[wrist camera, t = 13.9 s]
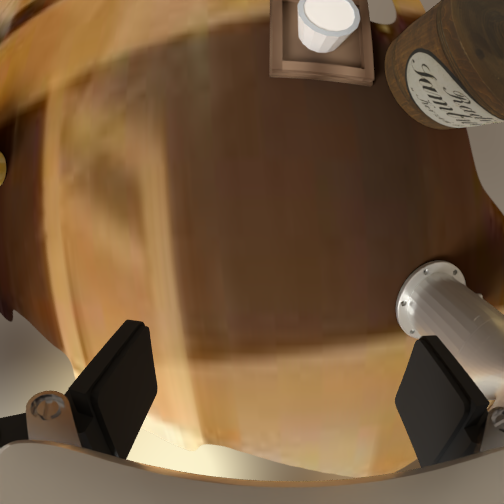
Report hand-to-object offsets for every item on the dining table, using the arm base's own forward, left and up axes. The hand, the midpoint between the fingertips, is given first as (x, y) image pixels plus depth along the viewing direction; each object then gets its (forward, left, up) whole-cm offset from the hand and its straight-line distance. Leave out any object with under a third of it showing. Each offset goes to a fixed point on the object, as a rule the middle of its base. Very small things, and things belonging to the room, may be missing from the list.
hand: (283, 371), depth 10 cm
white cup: (-5, -25, -29) cm, 38 cm away
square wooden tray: (-6, -25, -30) cm, 39 cm away
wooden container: (-22, -21, -30) cm, 43 cm away
